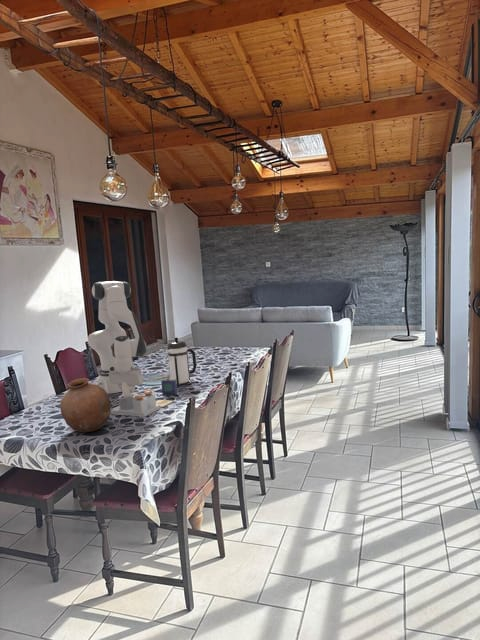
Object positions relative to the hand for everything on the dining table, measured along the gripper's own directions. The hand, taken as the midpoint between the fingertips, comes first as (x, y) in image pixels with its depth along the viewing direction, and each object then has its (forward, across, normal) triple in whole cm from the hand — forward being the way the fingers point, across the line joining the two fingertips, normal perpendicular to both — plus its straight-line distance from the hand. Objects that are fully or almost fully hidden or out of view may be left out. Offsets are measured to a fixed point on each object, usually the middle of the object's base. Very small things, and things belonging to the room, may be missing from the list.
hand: (127, 392), depth 254 cm
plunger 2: (+7, -10, -4) cm, 13 cm away
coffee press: (+10, 0, -53) cm, 54 cm away
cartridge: (+8, 0, 0) cm, 8 cm away
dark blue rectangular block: (+10, -6, -30) cm, 32 cm away
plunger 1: (+7, -10, +4) cm, 13 cm away
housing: (+10, -4, 0) cm, 11 cm away
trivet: (+10, -11, -13) cm, 20 cm away
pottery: (+10, +2, +29) cm, 31 cm away
